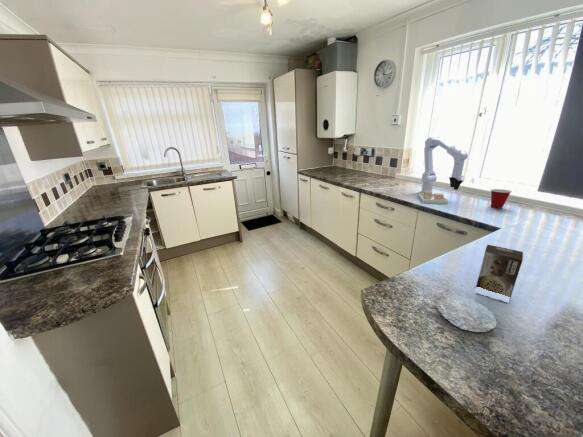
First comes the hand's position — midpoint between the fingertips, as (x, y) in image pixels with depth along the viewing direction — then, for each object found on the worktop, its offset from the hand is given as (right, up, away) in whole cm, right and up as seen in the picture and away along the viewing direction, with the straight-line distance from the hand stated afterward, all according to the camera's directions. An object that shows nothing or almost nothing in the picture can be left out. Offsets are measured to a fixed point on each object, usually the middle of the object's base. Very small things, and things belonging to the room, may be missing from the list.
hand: (453, 188), depth 176 cm
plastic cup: (+19, -15, -13) cm, 28 cm away
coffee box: (-51, -48, -95) cm, 117 cm away
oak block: (-14, -6, +10) cm, 18 cm away
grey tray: (-12, -8, +7) cm, 16 cm away
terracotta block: (-10, -9, +3) cm, 13 cm away
